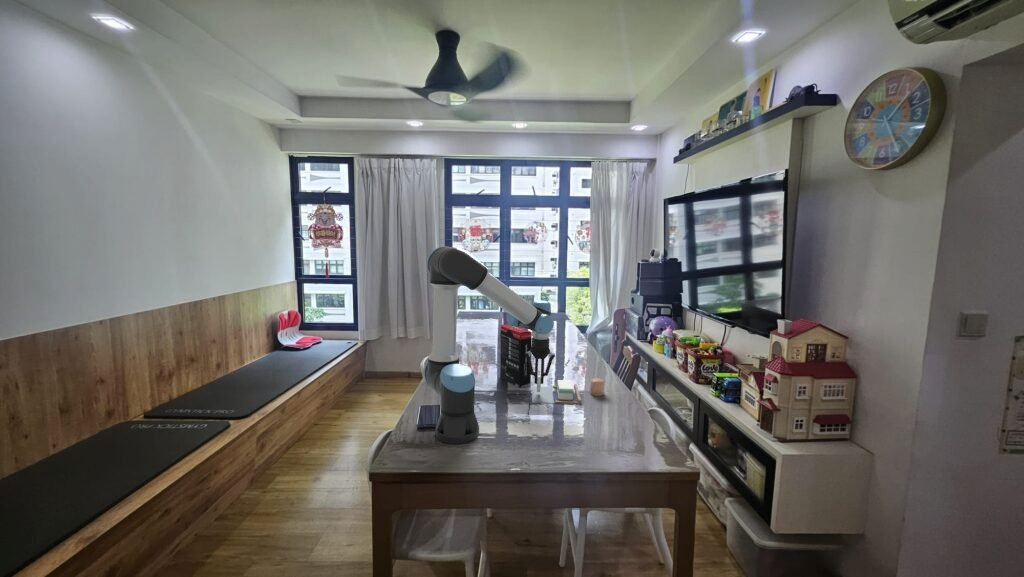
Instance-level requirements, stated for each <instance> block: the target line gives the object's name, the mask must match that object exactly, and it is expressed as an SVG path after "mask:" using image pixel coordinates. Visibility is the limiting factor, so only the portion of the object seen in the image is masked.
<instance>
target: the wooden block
mask: <svg viewBox="0 0 1024 577" xmlns="http://www.w3.org/2000/svg"><path fill="white" fill-rule="evenodd" d="M589 393H590V395H592V396H594V397H603V396H604V394H605V380H604V379H602V378H597V377H595V378H594V377H593V378H591V379H590V384H589Z"/></svg>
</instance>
